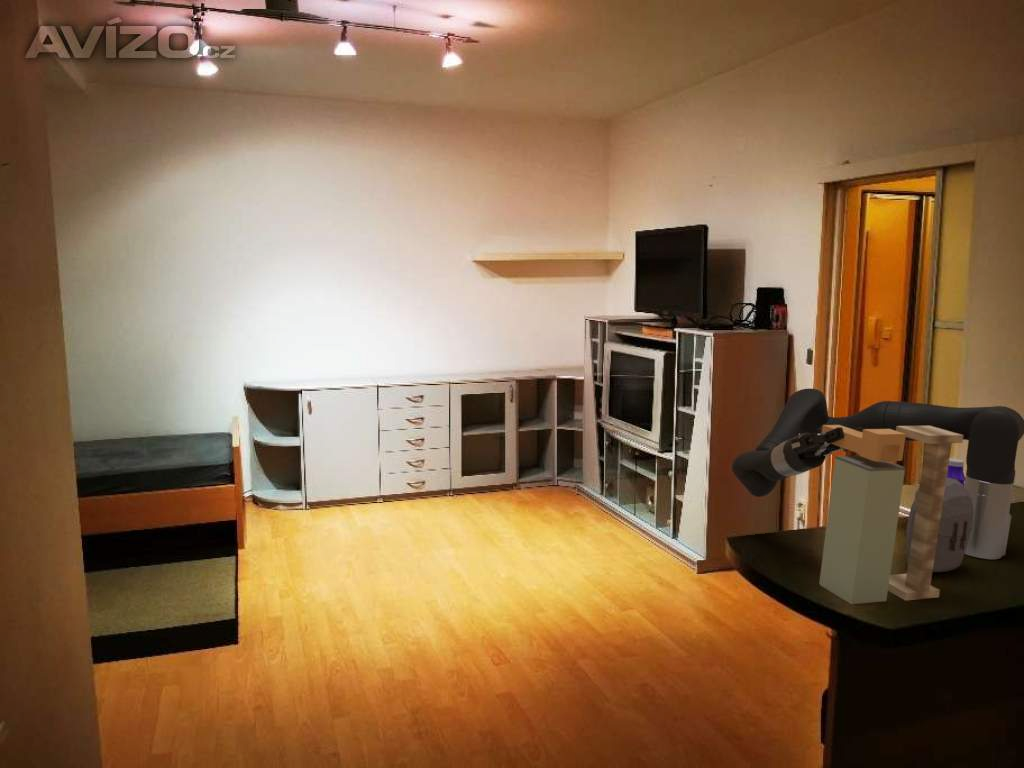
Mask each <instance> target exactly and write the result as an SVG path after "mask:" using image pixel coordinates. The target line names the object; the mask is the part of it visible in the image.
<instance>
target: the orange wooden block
mask: <svg viewBox="0 0 1024 768" xmlns="http://www.w3.org/2000/svg"><path fill="white" fill-rule="evenodd" d="M838 427H842V428H843V433H844V438H843V439H841V440H838V441H836V442H833V443H831V444H834V445H836V446H839V447H842V448H845V449H847V450H849V451H850V452H853V453H856V454H857V455H860V456H862V457H864V458H867V459H870V460H873V461H875V462H876V461H889V462H901V461H903V456H904V449H905V442H906V441H905V437H906V434H904V433H901V432H898V431H895V430H892V429H863V432H859V431H856V430H853V429H850V428H847V427H844V426H841V425H823V427H822V432H829V431H831V430H833V429H835V428H838Z"/></svg>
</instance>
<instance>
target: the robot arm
mask: <svg viewBox="0 0 1024 768" xmlns="http://www.w3.org/2000/svg"><path fill="white" fill-rule="evenodd" d="M825 396H826V395H825V394H824V393H823V392H822V390H819V389H816V388H804V389H799V390H797V391H795V392H794V393H792V394H791V395H790V396H789V397H788V399H787V402H786V403H785V405H784V407H783V410H782V411H781V413H780V415H779V417H778V418H777V420H776V422H775V424H774V425H773V427H772V429H771V430H770V431H769V432H768V434H767V435H765V437H764V438H763V439H762V441H761V442H760V443H759V444H758V445H757V447H756V448H755V450H749V451H746V452H743V453H740V454H739V455H738V456H736V457H735V458H734V460H733V461H732V465H731V470H732V473H733V475H734V476H735V477H736V478H737V479H738V481H739V482H740V483H741V484H742V485H743V487H744V488H745V489H746V490H747V492H748V493H750V495H752V496H753V497H756V498H760V497H765V496H768V495H769V494H770V493H771V492H772V491H774V488H775V487H776V486H777V484H778V482H780V481H782V480H785V479H787V478H790V477H792V476H797V475H801V474H803V473H807V472H809V471H811V470H814V469H817V468H819V467H820V466H821V465H823V463H824V462H825V459H826V457H828V456H831V455H833V454H834V453H837V452H840V451H843V452H845V453H846V452H847V453H848V452H849V451H850V450H847V449H845V448H842V447H839V446H836V445H834V444H831V443H833V442H836V441H838V440H841V439H843V438H844V433H843V428H842V427H838V428H835V429H833V430H831V431H829V432H822V427H823V425H841V426H844V427H847V428H850V429H853V430H856V431H859V432H863V429H892V430H895V431H896V426H933V427H936V428H940V429H943V430H947V431H951V432H954V433H958V434H961V435H964V436H963V441H964V440H966V441H967V442H968V443H967V450H966V457H965V463H966V472H965V484H964V487H965V488H966V490H967V491H968V492H969V494H970V497H971V499H972V506H973V524H972V531H971V532H970V536H969V540H968V544H967V548H966V551H965V554H964V555H966V556H970V557H975V558H978V559H985V560H998V559H1001V558H1002V557H1003V556H1006V551H1007V546H1008V545H1007V544H1008V539H1009V532H1010V526H1011V521H1012V515H1011V514H1010V508H1011V504H1012V503H1011V501H1012V495H1013V489H1014V483H1015V478H1016V468H1015V467H1016V465H1015V464H1016V457H1017V451H1018V446H1019V441H1021V439H1022V438H1023V436H1024V418H1023V416H1022V415H1021V414H1020V413H1019V412H1017V411H1016V410H1015V409H1014V408H1013V409H1012V408H1010V407H1007V406H1002V405H998V406H997V405H995V406H978V407H977V406H974V407H954V406H953V407H952V406H945V405H937V404H929V403H920V402H910V401H897V400H896V401H894V400H883V401H879V402H875V403H874V404H871V405H870V406H867V407H865V408H864V409H862V410H859V412H855V414H852V415H848V416H842V417H841V416H840V417H839V416H838V417H834V416H829V411H828V405H827V404H828V402H827V400H826V397H825ZM916 441H917V442H919V441H918V440H914V439H911V438H908V437H905V442H916Z"/></svg>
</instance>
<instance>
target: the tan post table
mask: <svg viewBox="0 0 1024 768" xmlns="http://www.w3.org/2000/svg"><path fill="white" fill-rule="evenodd" d="M896 431H898V432H901V433H904V434H906V437H908V438H911V439H914V440H918V441H917V442H922V443H924V444H925V446H924V453H923V460H922V466H921V472H920V481H919V487H918V488H919V492H918V499H917V506H916V513H915V520H914V527H913V534H912V541H911V548H910V554H909V561H908V562H907V570H906V573H898V574H890V579H889V586H888V592H889V593H891V594H892V595H895V596H897V597H899V598H900V599H902V600H904V601H905V602H907V601H913V600H914V601H915V600H925V599H936V598H940V593H941V592H940V591H941V590H940V589H939V588H937V587H935V586H933V585H931V583H932V578H933V577H932V576H933V573H934V572H933V565H934V558H935V552H936V545H937V538H938V532H939V525H940V519H941V512H942V505H943V499H944V492H945V485H946V479H947V472H948V465H949V459H950V458H951V451H952V445H953V444H963V442H964V440H963V436H964V435H961V434H958V433H954V432H951V431H947V430H943V429H940V428H936V427H933V426H896Z"/></svg>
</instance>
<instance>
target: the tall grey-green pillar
mask: <svg viewBox="0 0 1024 768" xmlns="http://www.w3.org/2000/svg"><path fill="white" fill-rule="evenodd" d="M833 463H834V465H833V472H832V480H831V481H832V482H831V487H830V488H831V489H830V496H829V503H828V504H829V505H828V511H827V521H826V527H825V535H824V536H825V537H824V543H823V551H822V557H821V558H822V559H821V567H820V575H819V581H818V582H819V584H820V585H819V584H818V585H819V586H821V587H822V588H824V589H825V590H827V591H829V592H831V593H832V594H834V595H835V596H837V597H839V598H840V599H842V600H844V602H846V603H848V604H850V605H859V604H869V603H871V604H873V603H879V602H881V603H882V602H887V600H888V599H887V598H888V592H889V591H888V586H889V579H890V575H891V569H892V563H893V557H894V550H895V544H896V543H895V542H896V535H897V528H898V523H899V522H898V521H899V514H900V507H901V506H900V505H901V501H902V500H901V499H902V493H903V486H904V479H905V472H906V466H902V465H900V464H897V463H894V462H892V461H876V462H875V461H873V460H870V459H867V458H864V457H862V456H860V454H853V455H851V454H850V455H835V456H834V462H833Z"/></svg>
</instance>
